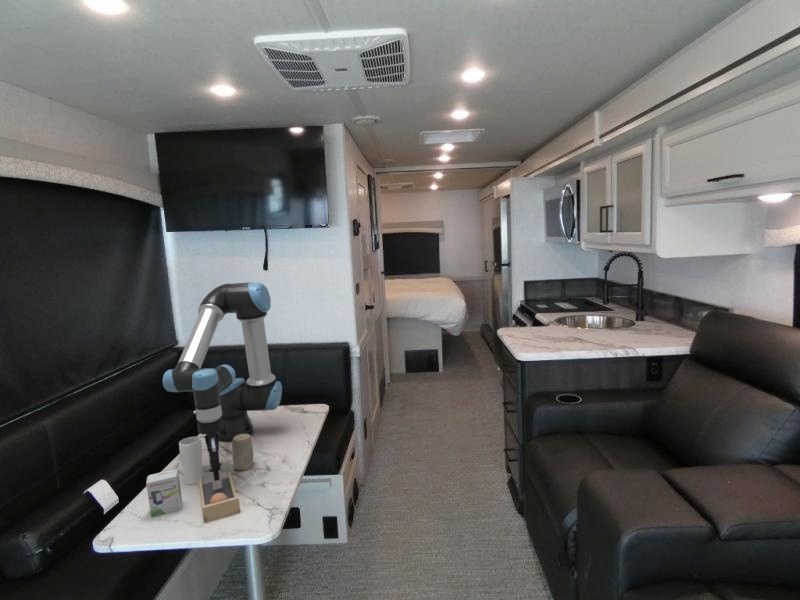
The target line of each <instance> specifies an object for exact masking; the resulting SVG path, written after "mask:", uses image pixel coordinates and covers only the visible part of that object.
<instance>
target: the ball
mask: <svg viewBox="0 0 800 600" xmlns="http://www.w3.org/2000/svg"><path fill="white" fill-rule="evenodd" d="M224 500H228V499H227V496H226V495H225V494H223V493H216V494H215V495H213V496H212V498H211V500H210V504H213V503H217V502H221V501H224Z"/></svg>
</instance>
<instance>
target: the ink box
mask: <svg viewBox="0 0 800 600" xmlns="http://www.w3.org/2000/svg"><path fill="white" fill-rule="evenodd" d="M180 483H181V481H180V474H179V469H171V470H167V471H162V472H161V471H160V472H157V473H153V474H149V475H148V476H147V477H146V482H145V484H146V491H147V497H148V504H149V510H150V517H151V518H153V517H157V516H161V515H165V514H168V513H173V512H178V511H181V510H183V498H182V497H183V496H182V489H181V484H180Z"/></svg>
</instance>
